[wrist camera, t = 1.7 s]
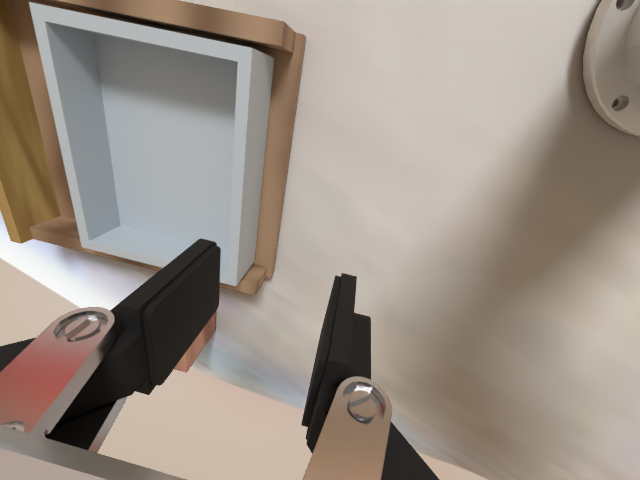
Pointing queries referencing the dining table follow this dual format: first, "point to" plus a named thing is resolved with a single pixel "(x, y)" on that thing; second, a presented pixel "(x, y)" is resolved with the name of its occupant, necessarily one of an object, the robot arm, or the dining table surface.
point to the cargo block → (197, 345)
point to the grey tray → (157, 136)
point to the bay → (42, 140)
